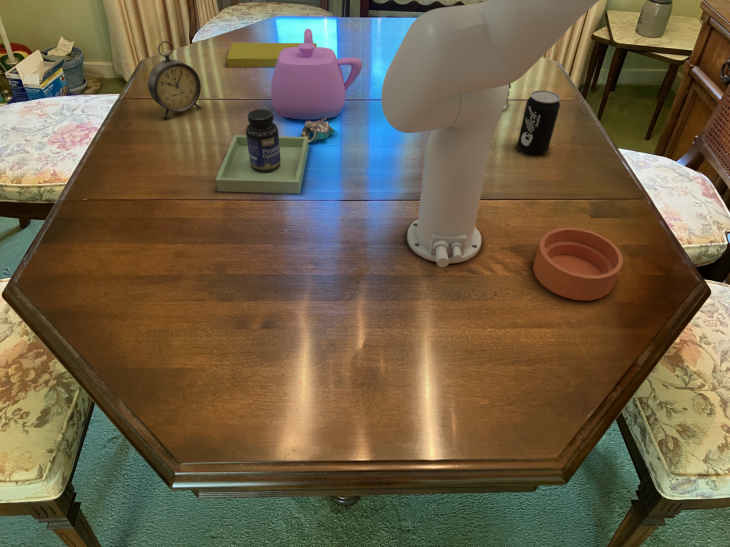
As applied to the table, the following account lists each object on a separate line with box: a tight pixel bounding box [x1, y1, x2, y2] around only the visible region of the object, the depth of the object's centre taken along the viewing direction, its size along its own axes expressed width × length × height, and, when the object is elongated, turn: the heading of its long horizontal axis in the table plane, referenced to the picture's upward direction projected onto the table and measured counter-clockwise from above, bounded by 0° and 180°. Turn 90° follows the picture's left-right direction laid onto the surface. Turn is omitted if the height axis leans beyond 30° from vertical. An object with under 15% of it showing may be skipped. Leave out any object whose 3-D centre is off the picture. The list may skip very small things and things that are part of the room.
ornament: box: [300, 118, 335, 144], centre depth 120 cm, size 8×7×4 cm
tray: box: [215, 134, 310, 195], centre depth 110 cm, size 18×16×3 cm
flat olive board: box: [226, 42, 318, 68], centre depth 154 cm, size 12×2×24 cm
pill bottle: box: [245, 108, 281, 173], centre depth 107 cm, size 6×6×11 cm
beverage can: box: [517, 89, 561, 156], centre depth 115 cm, size 7×7×12 cm
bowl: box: [532, 226, 624, 302], centre depth 87 cm, size 12×12×5 cm
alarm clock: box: [147, 40, 202, 120], centre depth 124 cm, size 11×5×16 cm, turn 131°
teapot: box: [270, 28, 363, 120], centre depth 129 cm, size 23×21×15 cm
